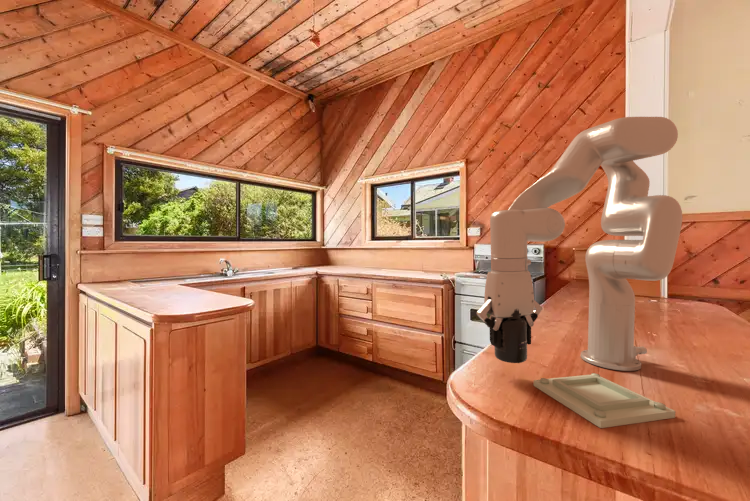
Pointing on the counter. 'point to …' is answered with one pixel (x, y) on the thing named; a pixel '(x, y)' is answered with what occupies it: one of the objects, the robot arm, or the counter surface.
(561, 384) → the seating plate
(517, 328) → the supplement bottle
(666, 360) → the counter surface
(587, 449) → the counter surface
